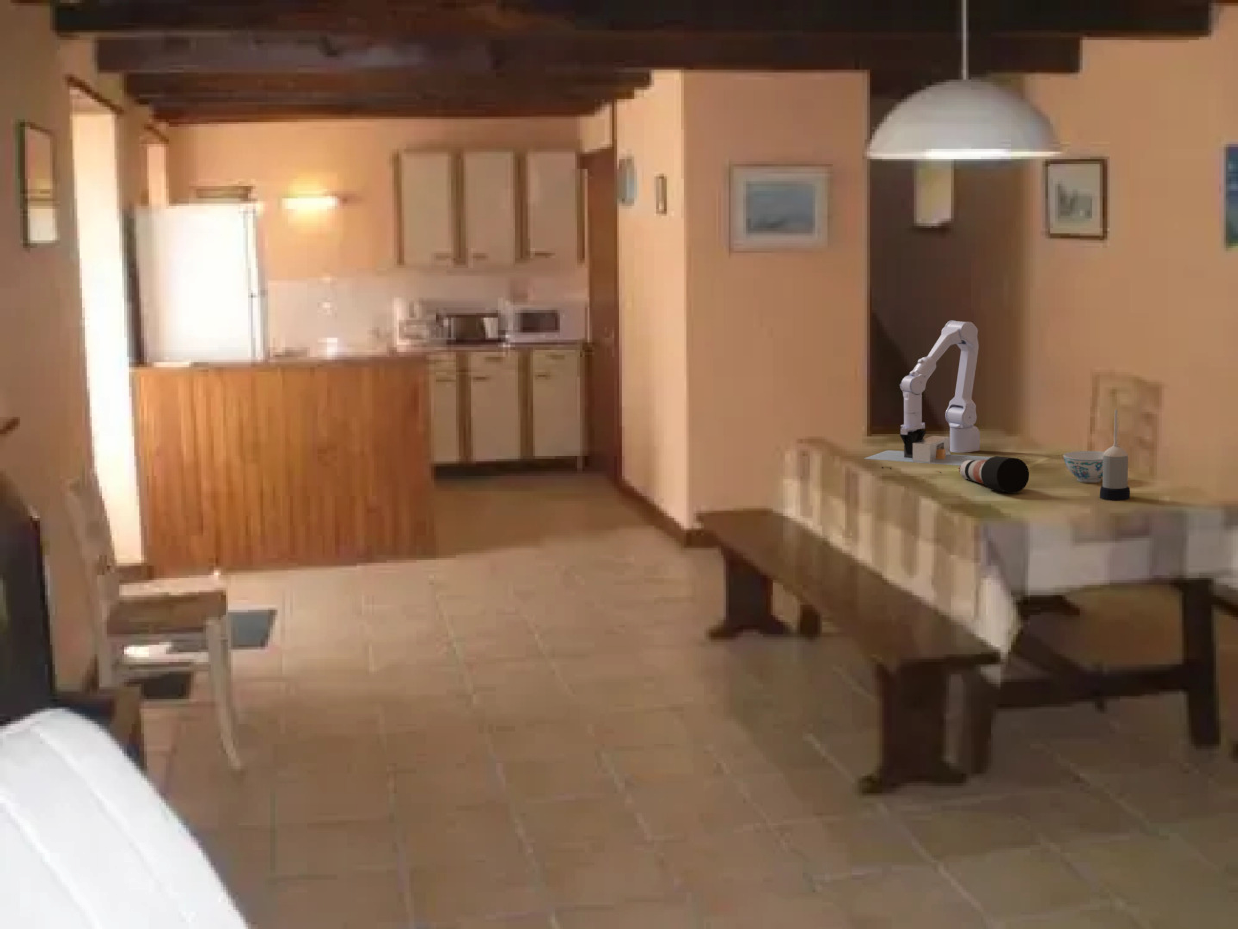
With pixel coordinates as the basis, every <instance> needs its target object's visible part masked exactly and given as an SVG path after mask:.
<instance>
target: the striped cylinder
mask: <svg viewBox="0 0 1238 929" xmlns="http://www.w3.org/2000/svg"><path fill="white" fill-rule="evenodd" d="M990 457H991V458H989V459H988V460H967V461H965V462H963V463H962V465H961V466H959V467H958V472H959V474H960V475H961V477H962V478H963V479H965V480H967V479H968V480H969V481H973V482H975V483H978V484H983V485H984V486H985V487H987V489H989V490H992V491H996V492H1002V493H1008V494H1014V493H1019V492H1021V491H1023V489H1025V487H1026V486H1027V484H1028V482H1029V479H1030V471H1029V468H1028V466H1027V463H1025V462H1024V461H1023V460H1022V459H1020V458H1018V457H1017V458H1016V457H1009V456H1007V457H1006V456H996V455H995V456H990ZM968 480H967V481H968Z"/></svg>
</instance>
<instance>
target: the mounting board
mask: <svg viewBox="0 0 1238 929" xmlns="http://www.w3.org/2000/svg"><path fill="white" fill-rule="evenodd" d="M991 457H992V456H981V455H980V456H979V455H967V454H965V455H964V454H951V453H950V455H949V456H946V457H945V459H936V461H933V462H930V463H928V462H916V463H919V464H920V463H921V464H932V465H934V464H935V465H949V466H959V467H960V466H961V465H962V463H963V462H965V461H967V460H988V459H989V458H991ZM863 459H865V460H877V461H878V460H879V461H892V462H893V461H894V462H902V463H904V462H906V463H915V462H914V461H913V458H906V457H904V450H892V449H891V450H890V449H887V450H884V451H881V452H879V453H875V454H873V455H870V456H867V457H864V458H863Z"/></svg>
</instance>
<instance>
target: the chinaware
mask: <svg viewBox="0 0 1238 929" xmlns="http://www.w3.org/2000/svg"><path fill="white" fill-rule="evenodd" d="M1104 452H1105V451H1100V450H1083V451H1082V450H1079V451H1078V450H1076V451H1070V452H1065V453H1064V454H1063V460H1064V464H1065V467H1066V468H1067V470H1068V471H1069V472H1070V473H1071V474H1072V475H1073V476H1075V477H1076V478H1077V482H1080V483H1100V482H1101V481H1102V479H1103V456H1104V455H1103V454H1104Z"/></svg>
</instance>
